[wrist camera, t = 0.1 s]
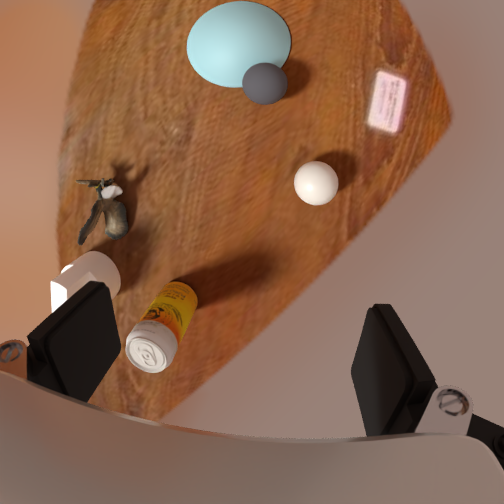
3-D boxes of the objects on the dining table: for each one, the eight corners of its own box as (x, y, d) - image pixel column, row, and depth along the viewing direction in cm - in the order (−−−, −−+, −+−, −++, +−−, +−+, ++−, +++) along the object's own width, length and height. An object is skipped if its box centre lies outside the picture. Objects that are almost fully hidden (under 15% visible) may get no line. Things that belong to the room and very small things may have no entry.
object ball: (245, 68, 33) (241, 56, 28) (287, 70, 33) (289, 58, 28) (243, 106, 35) (238, 100, 30) (285, 108, 35) (287, 102, 30)
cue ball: (294, 158, 37) (297, 159, 32) (335, 162, 37) (344, 164, 32) (291, 199, 39) (293, 207, 34) (331, 202, 39) (340, 211, 34)
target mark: (192, 4, 30) (191, 4, 30) (291, 3, 29) (291, 2, 29) (183, 88, 35) (183, 88, 35) (288, 89, 34) (288, 89, 34)
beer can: (191, 276, 44) (158, 333, 30) (203, 310, 46) (177, 374, 32) (157, 282, 45) (114, 337, 31) (169, 315, 47) (135, 375, 33)
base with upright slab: (80, 243, 44) (35, 271, 33) (123, 261, 44) (84, 296, 33) (77, 288, 47) (39, 321, 36) (118, 306, 47) (84, 346, 36)
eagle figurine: (78, 181, 39) (78, 243, 41) (74, 177, 32) (74, 251, 34) (127, 180, 43) (126, 240, 45) (132, 176, 36) (132, 247, 38)
